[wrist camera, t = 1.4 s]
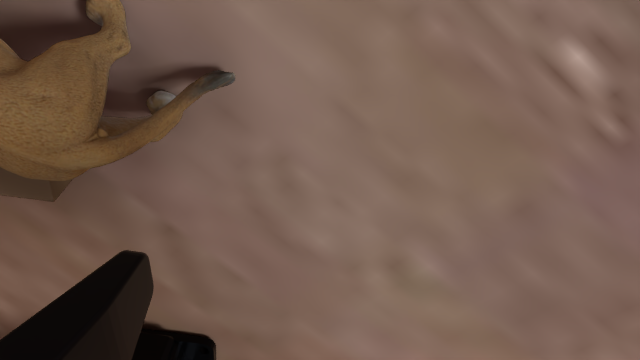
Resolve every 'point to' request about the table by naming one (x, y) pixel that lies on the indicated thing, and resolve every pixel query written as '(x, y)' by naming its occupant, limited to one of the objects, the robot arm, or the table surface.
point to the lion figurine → (80, 103)
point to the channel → (30, 187)
